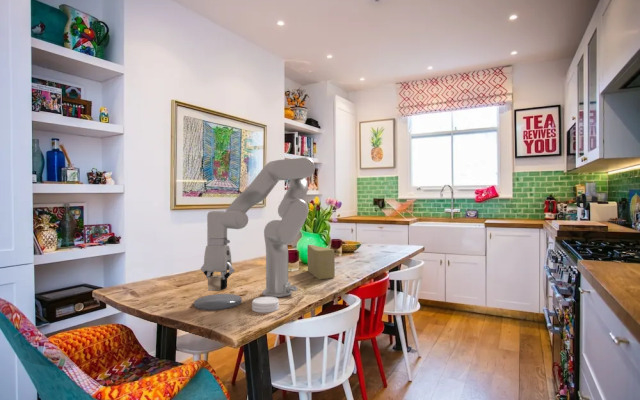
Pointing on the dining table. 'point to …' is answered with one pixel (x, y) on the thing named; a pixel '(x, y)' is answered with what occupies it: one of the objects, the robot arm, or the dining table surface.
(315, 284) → the dining table surface
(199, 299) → the cake plate
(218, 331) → the dining table surface
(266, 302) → the coaster
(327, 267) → the cheese
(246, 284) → the dining table surface
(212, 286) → the wooden cube
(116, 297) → the dining table surface
